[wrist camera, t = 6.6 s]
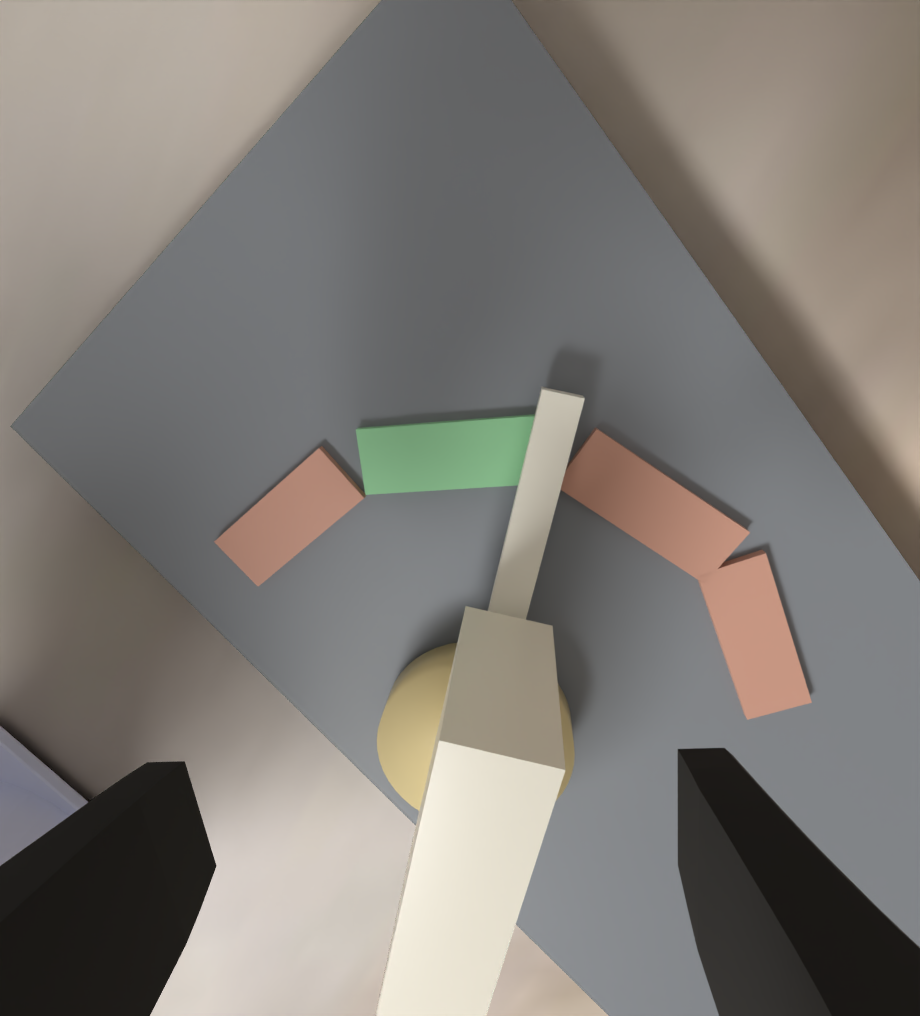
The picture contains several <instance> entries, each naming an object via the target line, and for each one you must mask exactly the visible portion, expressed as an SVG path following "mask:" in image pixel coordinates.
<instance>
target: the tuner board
mask: <svg viewBox="0 0 920 1016" xmlns="http://www.w3.org/2000/svg"><path fill="white" fill-rule="evenodd" d="M541 387H545V388H550V389H554V390H559V391H564V392H568V393H573V394H578V395H582V396H583V397H584V398H585V400H584V404H583V407H582V411H581V415H580V419H579V422H578V426H577V430H576V434H575V437H574V441H573V445H572V449H571V452H570V456H569V460H568V463H567V467H566V471H565V475H564V478H563V482H562V486H561V490H560V493H559V497H558V501H557V505H556V508H555V512H554V516H553V520H552V523H551V527H550V531H549V535H548V538H547V542H546V546H545V550H544V553H543V557H542V561H541V565H540V568H539V572H538V576H537V580H536V583H535V587H534V591H533V595H532V598H531V602H530V606H529V610H528V613H527V617H526V620H529V621H534V622H538V623H543V624H547V625H551V626H553V637H554V648H555V659H556V670H557V681H558V684H559V686H560V688H561V689H562V691H563V693H564V695H565V698H566V700H567V702H568V706H569V710H570V715H571V723H572V732H573V741H574V751H575V757H574V767H573V771H572V775H571V777H570V780H569V782H568V784H567V786H566V788H565V789H564V791H563V793H562V794H561V795H560V797H559V798H558V799H557V800H556V801H555V804H554V807H553V810H552V814H551V817H550V820H549V823H548V826H547V829H546V832H545V835H544V838H543V841H542V844H541V848H540V851H539V854H538V857H537V860H536V863H535V866H534V869H533V872H532V875H531V878H530V882H529V885H528V888H527V891H526V894H525V897H524V900H523V903H522V906H521V909H520V912H519V916H518V919H517V922H516V925H517V926H518V927H519V928H520V929H521V930H522V931H523V932H524V933H525V934H526V935H527V936H528V937H529V938H530V939H531V940H532V941H533V942H534V943H535V944H537V945H538V946H539V947H540V948H541V949H542V950H543V951H544V952H545V953H546V954H547V955H548V956H549V957H550V958H551V959H552V960H553V961H554V962H555V963H556V964H557V965H558V966H559V967H560V968H561V969H562V970H563V971H564V972H565V973H566V974H567V975H568V976H569V977H570V978H571V979H572V980H573V981H574V982H575V983H576V984H577V985H578V986H579V987H580V988H581V989H582V990H583V991H584V992H585V993H586V994H587V995H588V996H589V997H590V998H591V999H592V1000H593V1001H594V1002H595V1003H596V1004H597V1005H598V1006H599V1007H600V1008H601V1009H603V1010H604V1011H605V1012H606V1013H607V1014H608V1015H609V1016H719V1014H718V1011H717V1008H716V1005H715V1002H714V999H713V996H712V993H711V990H710V987H709V984H708V981H707V978H706V975H705V972H704V969H703V965H702V962H701V959H700V956H699V953H698V950H697V946H696V942H695V937H694V933H693V929H692V925H691V921H690V916H689V912H688V908H687V904H686V899H685V895H684V890H683V886H682V881H681V877H680V873H679V868H678V749H693V748H725V749H726V750H728V751H729V752H730V753H731V754H732V755H733V756H734V757H735V758H736V759H737V760H738V761H739V763H740V764H741V765H742V766H743V767H744V768H745V769H746V770H747V772H748V773H749V774H750V775H751V776H752V777H753V778H754V779H755V781H756V782H757V783H758V784H759V785H760V786H761V787H762V788H763V789H764V790H765V792H766V793H767V794H768V795H769V796H770V797H771V798H772V799H773V800H774V801H775V802H776V804H777V805H778V806H779V807H780V808H781V809H782V810H783V811H784V812H785V813H786V814H787V815H788V816H789V818H790V819H791V820H792V821H793V822H794V823H795V824H796V825H797V826H798V827H799V828H800V829H801V830H802V831H803V832H804V833H805V835H806V836H807V837H808V838H809V839H810V840H811V841H812V842H813V843H814V844H815V845H816V846H817V847H818V848H819V849H820V850H821V851H822V852H823V853H824V854H825V855H826V856H827V857H828V858H829V859H830V860H831V861H832V862H833V863H834V864H835V865H836V866H837V867H838V868H839V869H840V870H841V871H842V872H843V873H844V874H845V875H846V876H847V877H848V878H849V879H850V880H851V881H852V882H853V883H854V884H855V885H856V886H857V887H858V888H859V889H860V890H861V891H862V892H863V893H864V894H865V895H866V896H867V897H868V898H869V899H870V900H871V901H872V902H873V903H874V904H875V905H876V906H877V907H878V908H879V909H880V910H881V911H882V912H883V913H884V914H885V915H886V916H887V917H888V918H889V919H890V920H891V921H892V922H893V923H894V924H896V925H897V926H898V927H899V928H900V929H901V930H902V931H903V932H904V933H905V934H906V935H907V936H908V937H909V938H910V939H911V940H912V941H913V942H915V943H916V944H917V945H918V946H919V947H920V581H919V579H918V578H917V576H916V575H915V574H914V572H913V571H912V569H911V568H910V566H909V565H908V564H907V562H906V561H905V559H904V558H903V556H902V555H901V554H900V552H899V551H898V549H897V548H896V547H895V545H894V544H893V542H892V541H891V539H890V538H889V537H888V535H887V534H886V532H885V531H884V529H883V528H882V527H881V525H880V524H879V522H878V521H877V519H876V518H875V517H874V515H873V514H872V512H871V511H870V510H869V508H868V507H867V505H866V504H865V502H864V501H863V500H862V498H861V497H860V495H859V494H858V492H857V491H856V490H855V488H854V487H853V485H852V484H851V483H850V481H849V480H848V478H847V477H846V475H845V474H844V473H843V471H842V470H841V468H840V467H839V465H838V464H837V463H836V461H835V460H834V458H833V457H832V456H831V454H830V453H829V451H828V450H827V448H826V447H825V446H824V444H823V443H822V441H821V440H820V438H819V437H818V436H817V434H816V433H815V431H814V430H813V429H812V427H811V426H810V424H809V423H808V421H807V420H806V419H805V417H804V416H803V414H802V413H801V411H800V410H799V409H798V407H797V406H796V404H795V403H794V401H793V400H792V399H791V397H790V396H789V394H788V393H787V392H786V390H785V389H784V387H783V386H782V384H781V383H780V382H779V380H778V379H777V377H776V376H775V374H774V373H773V372H772V370H771V369H770V367H769V366H768V365H767V363H766V362H765V360H764V359H763V357H762V356H761V355H760V353H759V352H758V350H757V349H756V347H755V346H754V345H753V343H752V342H751V340H750V339H749V338H748V336H747V335H746V333H745V332H744V330H743V329H742V328H741V326H740V325H739V323H738V322H737V320H736V319H735V318H734V316H733V315H732V313H731V312H730V310H729V309H728V308H727V306H726V305H725V303H724V302H723V301H722V299H721V298H720V296H719V295H718V293H717V292H716V291H715V289H714V288H713V286H712V285H711V283H710V282H709V281H708V279H707V278H706V276H705V275H704V274H703V272H702V271H701V269H700V268H699V266H698V265H697V264H696V262H695V261H694V259H693V258H692V256H691V255H690V254H689V252H688V251H687V249H686V248H685V247H684V245H683V244H682V242H681V241H680V239H679V238H678V237H677V235H676V234H675V232H674V231H673V229H672V228H671V227H670V225H669V224H668V222H667V221H666V219H665V218H664V217H663V215H662V214H661V212H660V211H659V210H658V208H657V207H656V205H655V204H654V202H653V201H652V200H651V198H650V197H649V195H648V194H647V192H646V191H645V190H644V188H643V187H642V185H641V184H640V183H639V181H638V180H637V178H636V177H635V175H634V174H633V173H632V171H631V170H630V168H629V167H628V165H627V164H626V163H625V161H624V160H623V158H622V157H621V156H620V154H619V153H618V151H617V150H616V148H615V147H614V146H613V144H612V143H611V141H610V140H609V138H608V137H607V136H606V134H605V133H604V131H603V130H602V128H601V127H600V126H599V124H598V123H597V121H596V120H595V119H594V117H593V116H592V114H591V113H590V111H589V110H588V109H587V107H586V106H585V104H584V103H583V101H582V100H581V99H580V97H579V96H578V94H577V93H576V92H575V90H574V89H573V87H572V86H571V84H570V83H569V82H568V80H567V79H566V77H565V76H564V74H563V73H562V72H561V70H560V69H559V67H558V66H557V65H556V63H555V62H554V60H553V59H552V57H551V56H550V55H549V53H548V52H547V50H546V49H545V47H544V46H543V45H542V43H541V42H540V40H539V39H538V38H537V36H536V35H535V33H534V32H533V30H532V29H531V28H530V26H529V25H528V23H527V22H526V20H525V19H524V18H523V16H522V15H521V13H520V12H519V10H518V9H517V8H516V6H515V5H514V3H513V2H512V1H511V0H381V1H380V3H379V4H378V5H377V6H376V7H375V8H374V9H373V11H372V12H371V13H370V14H369V15H368V16H367V18H366V19H365V20H364V21H363V22H362V23H361V24H360V26H359V27H358V28H357V29H356V30H355V31H354V32H353V34H352V35H351V36H350V37H349V38H348V39H347V40H346V42H345V43H344V44H343V45H342V46H341V47H340V49H339V50H338V51H337V52H336V53H335V54H334V55H333V57H332V58H331V59H330V60H329V61H328V62H327V63H326V65H325V66H324V67H323V68H322V69H321V70H320V71H319V73H318V74H317V75H316V76H315V77H314V78H313V80H312V81H311V82H310V83H309V84H308V85H307V86H306V88H305V89H304V90H303V91H302V92H301V93H300V94H299V96H298V97H297V98H296V99H295V100H294V101H293V103H292V104H291V105H290V106H289V107H288V108H287V109H286V111H285V112H284V113H283V114H282V115H281V116H280V117H279V119H278V120H277V121H276V122H275V123H274V124H273V125H272V127H271V128H270V129H269V130H268V131H267V132H266V134H265V135H264V136H263V137H262V138H261V139H260V140H259V142H258V143H257V144H256V145H255V146H254V147H253V148H252V150H251V151H250V152H249V153H248V154H247V155H246V156H245V158H244V159H243V160H242V161H241V162H240V163H239V165H238V166H237V167H236V168H235V169H234V170H233V171H232V173H231V174H230V175H229V176H228V177H227V178H226V179H225V181H224V182H223V183H222V184H221V185H220V186H219V187H218V189H217V190H216V191H215V192H214V193H213V194H212V196H211V197H210V198H209V199H208V200H207V201H206V202H205V204H204V205H203V206H202V207H201V208H200V209H199V210H198V212H197V213H196V214H195V215H194V216H193V217H192V218H191V220H190V221H189V222H188V223H187V224H186V225H185V227H184V228H183V229H182V230H181V231H180V232H179V233H178V235H177V236H176V237H175V238H174V239H173V240H172V241H171V243H170V244H169V245H168V246H167V247H166V248H165V249H164V251H163V252H162V253H161V254H160V255H159V256H158V258H157V259H156V260H155V261H154V262H153V263H152V264H151V266H150V267H149V268H148V269H147V270H146V271H145V272H144V274H143V275H142V276H141V277H140V278H139V279H138V280H137V282H136V283H135V284H134V285H133V286H132V287H131V289H130V290H129V291H128V292H127V293H126V294H125V295H124V297H123V298H122V299H121V300H120V301H119V302H118V303H117V305H116V306H115V307H114V308H113V309H112V310H111V311H110V313H109V314H108V315H107V316H106V317H105V318H104V320H103V321H102V322H101V323H100V324H99V325H98V326H97V328H96V329H95V330H94V331H93V332H92V333H91V334H90V336H89V337H88V338H87V339H86V340H85V341H84V342H83V344H82V345H81V346H80V347H79V348H78V349H77V351H76V352H75V353H74V354H73V355H72V356H71V357H70V359H69V360H68V361H67V362H66V363H65V364H64V365H63V367H62V368H61V369H60V370H59V371H58V372H57V373H56V375H55V376H54V377H53V378H52V379H51V380H50V382H49V383H48V384H47V385H46V386H45V387H44V388H43V390H42V391H41V392H40V393H39V394H38V395H37V396H36V398H35V399H34V400H33V401H32V402H31V403H30V404H29V406H28V407H27V408H26V409H25V410H24V411H23V413H22V414H21V415H20V416H19V417H18V418H17V419H16V421H15V422H14V423H13V424H12V425H11V427H12V428H13V429H14V430H15V431H16V432H17V433H18V434H19V435H20V436H21V437H22V438H23V439H24V440H25V441H26V442H27V443H28V444H29V445H30V446H31V447H32V448H33V449H34V450H35V451H36V452H37V453H38V454H39V455H40V456H41V457H42V458H43V459H44V460H45V461H46V462H47V463H48V464H49V465H50V466H51V467H52V468H53V469H54V470H55V471H56V472H57V473H58V474H59V475H60V476H61V477H62V478H63V479H64V480H65V481H66V482H67V483H68V484H70V485H71V486H72V487H73V488H74V489H75V490H76V491H77V492H78V493H79V494H80V495H81V496H82V497H83V498H84V499H85V500H86V501H87V502H88V503H89V504H90V505H91V506H92V507H93V508H94V509H95V510H96V511H97V512H98V513H99V514H100V515H101V516H102V517H103V518H104V519H105V520H106V521H107V522H108V523H109V524H110V525H111V526H112V527H113V528H114V529H115V530H116V531H117V532H118V533H119V534H120V535H121V536H122V537H123V538H124V539H125V540H126V541H127V542H128V543H129V544H130V545H131V546H132V547H133V548H134V549H135V550H137V551H138V552H139V553H140V554H141V555H142V556H143V557H144V558H145V559H146V560H147V561H148V562H149V563H150V564H151V565H152V566H153V567H154V568H155V569H156V570H157V571H158V572H159V573H160V574H161V575H162V576H163V577H164V578H165V579H166V580H167V581H168V582H169V583H170V584H171V585H172V586H173V587H174V588H175V589H176V590H177V591H178V592H179V593H180V594H181V595H182V596H183V597H184V598H185V599H186V600H187V601H188V602H189V603H190V604H191V605H192V606H193V607H194V608H195V609H196V610H197V611H198V612H199V613H200V614H201V615H202V616H204V617H205V618H206V619H207V620H208V621H209V622H210V623H211V624H212V625H213V626H214V627H215V628H216V629H217V630H218V631H219V632H220V633H221V634H222V635H223V636H224V637H225V638H226V639H227V640H228V641H229V642H230V643H231V644H232V645H233V646H234V647H235V648H236V649H237V650H238V651H239V652H240V653H241V654H242V655H243V656H244V657H245V658H246V659H247V660H248V661H249V662H250V663H251V664H252V665H253V666H254V667H255V668H256V669H257V670H258V671H259V672H260V673H261V674H262V675H263V676H264V677H265V678H266V679H267V680H268V681H270V682H271V683H272V684H273V685H274V686H275V687H276V688H277V689H278V690H279V691H280V692H281V693H282V694H283V695H284V696H285V697H286V698H287V699H288V700H289V701H290V702H291V703H292V704H293V705H294V706H295V707H296V708H297V709H298V710H299V711H300V712H301V713H302V714H303V715H304V716H305V717H306V718H307V719H308V720H309V721H310V722H311V723H312V724H313V725H314V726H315V727H316V728H317V729H318V730H319V731H320V732H321V733H322V734H323V735H324V736H325V737H326V738H327V739H328V740H329V741H330V742H331V743H332V744H333V745H334V746H335V747H337V748H338V749H339V750H340V751H341V752H342V753H343V754H344V755H345V756H346V757H347V758H348V759H349V760H350V761H351V762H352V763H353V764H354V765H355V766H356V767H357V768H358V769H359V770H360V771H361V772H362V773H363V774H364V775H365V776H366V777H367V778H368V779H369V780H370V781H371V782H372V783H373V784H374V785H375V786H376V787H377V788H378V789H379V790H380V791H381V792H382V793H383V794H384V795H385V796H386V797H387V798H388V799H389V800H390V801H391V802H392V803H393V804H394V805H395V806H396V807H397V808H398V809H399V810H400V811H401V812H402V813H404V814H405V815H406V816H407V817H408V818H409V819H410V820H411V821H412V822H413V823H414V824H415V825H416V823H417V818H418V814H419V811H418V810H417V809H415V808H414V807H412V806H411V805H410V804H409V803H408V802H406V801H405V800H404V799H403V798H402V797H401V796H400V795H399V794H398V793H397V792H396V790H395V789H394V788H393V786H392V785H391V784H390V782H389V781H388V779H387V777H386V775H385V773H384V772H383V769H382V766H381V764H380V761H379V756H378V751H377V733H378V727H379V723H380V720H381V717H382V714H383V711H384V708H385V705H386V703H387V700H388V697H389V694H390V691H391V689H392V687H393V685H394V682H395V681H396V679H397V678H398V676H399V675H400V673H401V672H402V671H403V670H404V669H405V668H406V667H407V666H408V665H409V664H410V663H411V662H412V661H414V660H415V659H416V658H418V657H419V656H421V655H422V654H424V653H426V652H428V651H430V650H432V649H435V648H437V647H440V646H444V645H447V644H452V643H457V642H458V637H459V633H460V629H461V624H462V620H463V615H464V611H465V607H466V606H468V607H472V608H477V609H481V610H485V611H488V607H489V603H490V599H491V595H492V590H493V586H494V582H495V578H496V574H497V570H498V565H499V561H500V557H501V553H502V549H503V545H504V541H505V536H506V532H507V528H508V524H509V520H510V516H511V512H512V507H513V503H514V499H515V495H516V491H517V487H518V483H519V478H520V474H521V470H522V466H523V462H524V458H525V454H526V449H527V445H528V441H529V437H530V433H531V429H532V425H533V420H534V416H535V412H536V408H537V404H538V400H539V395H540V391H541Z"/></svg>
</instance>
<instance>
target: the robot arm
mask: <svg viewBox="0 0 920 1016" xmlns="http://www.w3.org/2000/svg"><path fill="white" fill-rule="evenodd" d="M215 868H216V863H215V860H214V857H213V853H212V850H211V847H210V844H209V840H208V837H207V834H206V830H205V827H204V824H203V820H202V817H201V814H200V811H199V807H198V804H197V801H196V797H195V794H194V791H193V788H192V784H191V781H190V778H189V774H188V771H187V768H186V764H185V761H183V762H147V763H146V764H144V765H143V766H141V767H139V768H138V769H136V770H135V771H133V772H132V773H130V774H129V775H127V776H126V777H124V778H123V779H121V780H120V781H118V782H117V783H115V784H114V785H112V786H111V787H109V788H108V789H107V790H105V791H104V792H102V793H101V794H99V795H98V796H97V797H95V798H94V799H92V800H91V801H90V802H88V801H87V800H85V799H84V798H83V797H82V796H81V795H80V794H79V793H77V792H76V791H75V790H74V789H73V788H72V787H70V786H69V785H68V784H67V783H66V782H65V781H64V780H62V779H61V778H60V777H59V776H58V775H57V774H55V773H54V772H53V771H52V770H51V769H50V768H49V767H47V766H46V765H45V764H44V763H43V762H42V761H40V760H39V759H38V758H37V757H36V756H35V755H34V754H32V753H31V752H30V751H29V750H28V749H27V748H25V747H24V746H23V745H22V744H21V743H20V742H19V741H17V740H16V739H15V738H14V737H13V736H12V735H10V734H9V733H8V732H7V731H6V730H5V729H4V728H2V727H1V726H0V1016H150V1014H151V1012H152V1010H153V1008H154V1006H155V1004H156V1002H157V1001H158V999H159V997H160V995H161V993H162V991H163V989H164V987H165V985H166V983H167V981H168V979H169V977H170V975H171V973H172V971H173V969H174V967H175V965H176V963H177V961H178V959H179V957H180V955H181V953H182V951H183V949H184V947H185V945H186V943H187V941H188V938H189V936H190V933H191V931H192V929H193V926H194V924H195V921H196V919H197V916H198V914H199V911H200V909H201V906H202V904H203V901H204V898H205V895H206V893H207V890H208V887H209V885H210V882H211V879H212V876H213V874H214V871H215ZM678 868H679V873H680V877H681V881H682V886H683V890H684V895H685V899H686V904H687V908H688V912H689V916H690V921H691V925H692V929H693V933H694V937H695V942H696V946H697V950H698V953H699V956H700V959H701V962H702V965H703V969H704V972H705V975H706V978H707V981H708V984H709V987H710V990H711V993H712V996H713V999H714V1002H715V1005H716V1008H717V1011H718V1014H719V1016H920V947H919V946H918V945H917V944H916V943H915V942H913V941H912V940H911V939H910V938H909V937H908V936H907V935H906V934H905V933H904V932H903V931H902V930H901V929H900V928H899V927H898V926H897V925H896V924H894V923H893V922H892V921H891V920H890V919H889V918H888V917H887V916H886V915H885V914H884V913H883V912H882V911H881V910H880V909H879V908H878V907H877V906H876V905H875V904H874V903H873V902H872V901H871V900H870V899H869V898H868V897H867V896H866V895H865V894H864V893H863V892H862V891H861V890H860V889H859V888H858V887H857V886H856V885H855V884H854V883H853V882H852V881H851V880H850V879H849V878H848V877H847V876H846V875H845V874H844V873H843V872H842V871H841V870H840V869H839V868H838V867H837V866H836V865H835V864H834V863H833V862H832V861H831V860H830V859H829V858H828V857H827V856H826V855H825V854H824V853H823V852H822V851H821V850H820V849H819V848H818V847H817V846H816V845H815V844H814V843H813V842H812V841H811V840H810V839H809V838H808V837H807V836H806V835H805V833H804V832H803V831H802V830H801V829H800V828H799V827H798V826H797V825H796V824H795V823H794V822H793V821H792V820H791V819H790V818H789V816H788V815H787V814H786V813H785V812H784V811H783V810H782V809H781V808H780V807H779V806H778V805H777V804H776V802H775V801H774V800H773V799H772V798H771V797H770V796H769V795H768V794H767V793H766V792H765V790H764V789H763V788H762V787H761V786H760V785H759V784H758V783H757V782H756V781H755V779H754V778H753V777H752V776H751V775H750V774H749V773H748V772H747V770H746V769H745V768H744V767H743V766H742V765H741V764H740V763H739V761H738V760H737V759H736V758H735V757H734V756H733V755H732V754H731V753H730V752H729V751H728V750H726V749H725V748H693V749H678Z"/></svg>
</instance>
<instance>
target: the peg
mask: <svg viewBox="0 0 920 1016" xmlns="http://www.w3.org/2000/svg"><path fill="white" fill-rule="evenodd" d="M584 400H585V398H584V397H583V396H582V395H578V394H573V393H568V392H564V391H559V390H554V389H550V388H545V387H541V391H540V395H539V400H538V404H537V408H536V412H535V416H534V420H533V425H532V429H531V433H530V437H529V441H528V445H527V449H526V454H525V458H524V462H523V466H522V470H521V474H520V478H519V483H518V487H517V491H516V495H515V499H514V503H513V507H512V512H511V516H510V520H509V524H508V528H507V532H506V536H505V541H504V545H503V549H502V553H501V557H500V561H499V565H498V570H497V574H496V578H495V582H494V586H493V590H492V595H491V599H490V603H489V607H488V611H485V610H481V609H477V608H472V607H468V606H466V607H465V611H464V615H463V620H462V624H461V629H460V633H459V637H458V642H457V643H452V644H447V645H444V646H440V647H437V648H435V649H432V650H430V651H428V652H426V653H424V654H422V655H421V656H419V657H418V658H416V659H415V660H414V661H412V662H411V663H410V664H409V665H408V666H407V667H406V668H405V669H404V670H403V671H402V672H401V673H400V675H399V676H398V678H397V679H396V681H395V682H394V685H393V687H392V689H391V691H390V694H389V697H388V700H387V703H386V705H385V708H384V711H383V714H382V717H381V720H380V723H379V727H378V733H377V751H378V756H379V761H380V764H381V766H382V769H383V772H384V773H385V775H386V777H387V779H388V781H389V782H390V784H391V785H392V786H393V788H394V789H395V790H396V792H397V793H398V794H399V795H400V796H401V797H402V798H403V799H404V800H405V801H406V802H408V803H409V804H410V805H411V806H412V807H414V808H415V809H417V810H418V811H419V814H418V818H417V823H416V827H415V832H414V836H413V841H412V845H411V849H410V854H409V858H408V863H407V868H406V872H405V877H404V882H403V887H402V891H401V896H400V901H399V906H398V910H397V915H396V920H395V925H394V929H393V934H392V939H391V944H390V948H389V953H388V958H387V963H386V967H385V972H384V977H383V982H382V986H381V991H380V996H379V1001H378V1005H377V1010H376V1015H375V1016H486V1014H487V1011H488V1008H489V1005H490V1002H491V999H492V996H493V993H494V990H495V987H496V984H497V980H498V977H499V974H500V971H501V968H502V965H503V962H504V959H505V956H506V953H507V950H508V946H509V943H510V940H511V937H512V934H513V931H514V928H515V925H516V922H517V919H518V916H519V912H520V909H521V906H522V903H523V900H524V897H525V894H526V891H527V888H528V885H529V882H530V878H531V875H532V872H533V869H534V866H535V863H536V860H537V857H538V854H539V851H540V848H541V844H542V841H543V838H544V835H545V832H546V829H547V826H548V823H549V820H550V817H551V814H552V810H553V807H554V804H555V801H556V800H557V799H558V798H559V797H560V795H561V794H562V793H563V791H564V789H565V788H566V786H567V784H568V782H569V780H570V777H571V775H572V771H573V767H574V757H575V751H574V741H573V732H572V723H571V715H570V710H569V706H568V702H567V700H566V698H565V695H564V693H563V691H562V689H561V688H560V686H559V684H558V681H557V670H556V659H555V648H554V637H553V626H551V625H547V624H543V623H538V622H534V621H529V620H526V617H527V613H528V610H529V606H530V602H531V598H532V595H533V591H534V587H535V583H536V580H537V576H538V572H539V568H540V565H541V561H542V557H543V553H544V550H545V546H546V542H547V538H548V535H549V531H550V527H551V523H552V520H553V516H554V512H555V508H556V505H557V501H558V497H559V493H560V490H561V486H562V482H563V478H564V475H565V471H566V467H567V463H568V460H569V456H570V452H571V449H572V445H573V441H574V437H575V434H576V430H577V426H578V422H579V419H580V415H581V411H582V407H583V404H584Z"/></svg>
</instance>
